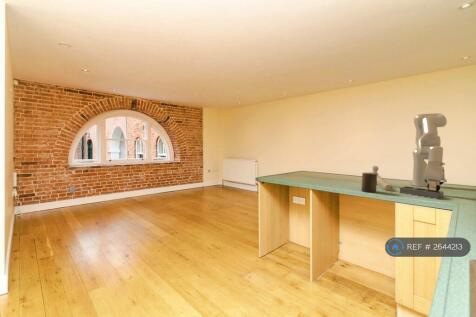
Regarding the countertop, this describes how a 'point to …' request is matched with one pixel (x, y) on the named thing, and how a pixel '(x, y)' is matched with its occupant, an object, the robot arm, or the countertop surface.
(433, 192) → the rail
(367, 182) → the pillar candle
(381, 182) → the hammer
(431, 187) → the peg
